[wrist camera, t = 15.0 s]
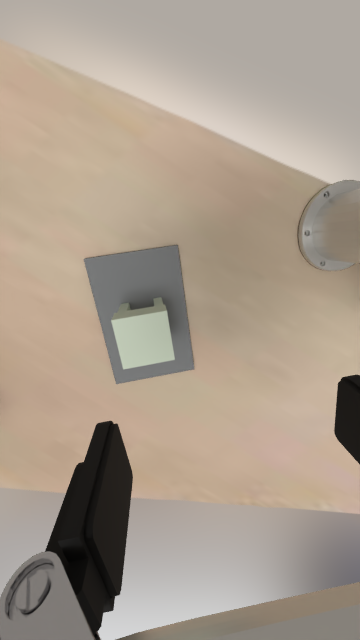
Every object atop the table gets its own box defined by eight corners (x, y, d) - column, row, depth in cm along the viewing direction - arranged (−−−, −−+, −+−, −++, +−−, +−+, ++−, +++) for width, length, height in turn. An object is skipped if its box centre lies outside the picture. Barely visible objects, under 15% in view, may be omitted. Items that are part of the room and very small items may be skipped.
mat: (177, 245, 34) (177, 245, 34) (193, 367, 41) (194, 369, 40) (84, 258, 33) (83, 258, 33) (116, 382, 40) (116, 384, 39)
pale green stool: (162, 295, 36) (166, 310, 28) (169, 335, 38) (174, 359, 30) (119, 302, 35) (111, 320, 27) (128, 342, 37) (123, 369, 29)
